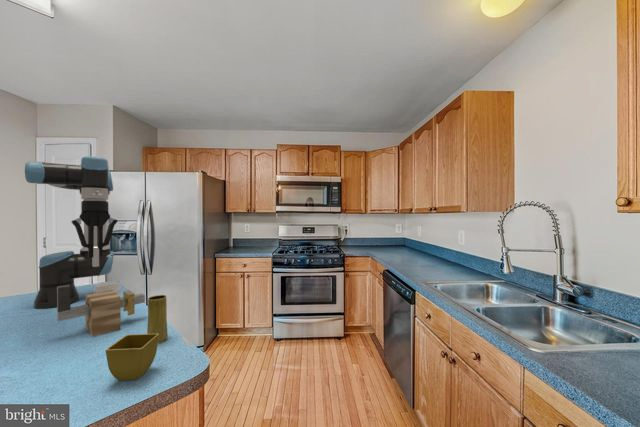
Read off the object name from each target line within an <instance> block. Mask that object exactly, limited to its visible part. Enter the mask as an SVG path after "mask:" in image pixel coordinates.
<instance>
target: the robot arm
mask: <svg viewBox="0 0 640 427" xmlns="http://www.w3.org/2000/svg"><path fill="white" fill-rule="evenodd" d="M109 167H110V166H109V162H108V160H107V158H104V157H99V156H89V155H88V156H83V157H81V163H80V165H79V164H65V163H63V164H62V163H54V162H53V163H52V162H41V161H27V162H26V163H25V164H24V178H25V181H26V182H27V183H29V184H36V185H48V186H51V187H55V188H59V189H66V190H76V191H79V194H80V196H81V200H82V201H81V204H80V205H81V208H80V210H81V213H80V214H79V217H78V218H76V219H73V220H71V224H72V225H73V226H74V227H75V230H76V232H77V236H78V238H79V242H80V245H81V247H82V248H80V249H79V253H75V252H74V251H72V250H68V251H60V252H59V251H58V252H54V253H50V254H45V255H43V256H42V257H40V258H39V266H38V269H39V283H38V284H39V289H38V292H37V294H36V296H35V299H34V301H33V308H36V309H51V308H57V286H63V285H70V305H72V304H73V303H76V302H78V301H79V300H80V293H79V292H78V289H77V288H76V285H75V279H81V278H82V279H83V278H88V277H96V276H97V277H100V276H106V275H108V274H110V273H111V272H112V269H113V263H114V256H115V255H114V252H115V251H113V250H111V247H110V246H109V245H110V242H111V238H112V234H113V232H114V228H115V226H116V224H118V219H115V218H113V217H111V214H110V212H109V201H108V200H109V196H110V193H111V192H113V191H114V185H113V178H112V174H111V170H110V169H109ZM82 222H83V228H82V226H81V225H82ZM107 222H108V227H107Z"/></svg>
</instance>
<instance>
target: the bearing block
mask: <svg viewBox="0 0 640 427" xmlns="http://www.w3.org/2000/svg"><path fill="white" fill-rule="evenodd" d="M120 298H121V295H120V296H119V295H118V294H117V293H116V292H114V291H113V290H109V291H103V292H98V293H94V292H92V293H87V294H85V305H86V304H89V305H90V315H85V328H86V329H87V331H88V332H89V334H90V335H91V337H92V338H93V337H97V336H102V335H105V334H107V333H111V332H115V331H119V330H121V319H122V318H121V308H120Z"/></svg>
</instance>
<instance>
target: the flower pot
mask: <svg viewBox="0 0 640 427" xmlns="http://www.w3.org/2000/svg"><path fill="white" fill-rule="evenodd" d="M158 337H159V334H147V333H139V334H138V333H136V334H126V335H124V336H123V337H121V338H120V339H118V340H117V341H115V342H114V343H113V344H112V345H110V346H108V347H107V348H106V349H105V355H106V362H107V367H108V370H109V372H110V374H111V375H112V376H113V378H114V379H115V380H117V381H119V382H122V381H138V380H140V379H141V378H142V377H143V376H144V375H145V373H146V372H148V371H149V369H150V368H151V366H152V365H153V362H154V360H155V358H156V356H157V351H158V344H159V343H158Z"/></svg>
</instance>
